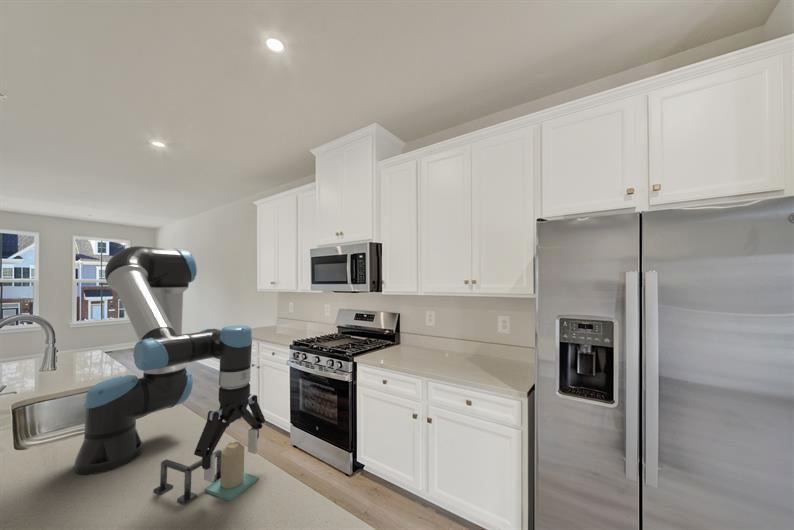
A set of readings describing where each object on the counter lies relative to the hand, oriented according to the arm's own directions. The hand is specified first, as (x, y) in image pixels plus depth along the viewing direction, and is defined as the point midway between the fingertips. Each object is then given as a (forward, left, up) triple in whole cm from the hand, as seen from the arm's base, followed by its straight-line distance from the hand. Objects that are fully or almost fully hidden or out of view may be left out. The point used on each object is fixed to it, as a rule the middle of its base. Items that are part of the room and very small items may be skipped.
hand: (232, 465), depth 86 cm
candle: (0, 0, -5) cm, 5 cm away
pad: (0, 0, -5) cm, 5 cm away
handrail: (-10, -4, -5) cm, 12 cm away
